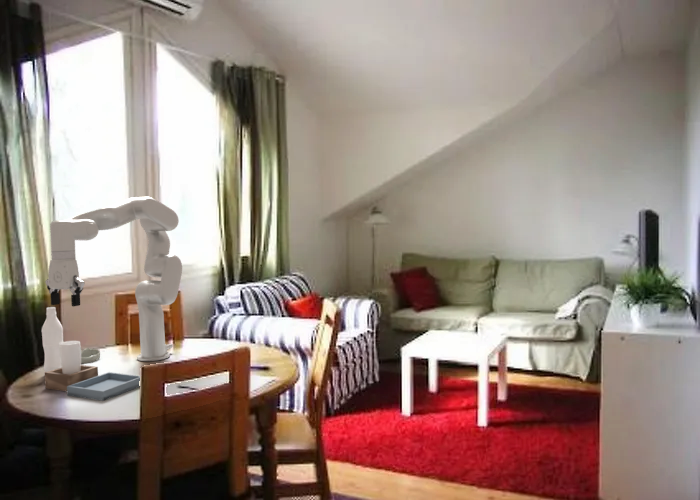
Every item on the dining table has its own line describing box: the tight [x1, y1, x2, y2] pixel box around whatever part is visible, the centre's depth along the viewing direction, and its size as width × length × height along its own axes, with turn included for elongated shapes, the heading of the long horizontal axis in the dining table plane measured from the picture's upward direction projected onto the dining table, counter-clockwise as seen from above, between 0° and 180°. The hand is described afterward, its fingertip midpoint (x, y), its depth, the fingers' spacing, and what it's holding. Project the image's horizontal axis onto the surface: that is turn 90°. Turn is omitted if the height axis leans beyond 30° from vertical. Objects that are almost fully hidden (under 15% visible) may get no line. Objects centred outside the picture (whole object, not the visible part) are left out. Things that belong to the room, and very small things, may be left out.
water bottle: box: [41, 306, 64, 373], centre depth 228 cm, size 7×7×25 cm
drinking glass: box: [59, 340, 82, 374], centre depth 213 cm, size 7×7×15 cm
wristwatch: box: [81, 347, 101, 364], centre depth 248 cm, size 9×6×5 cm
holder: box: [44, 364, 99, 392], centre depth 214 cm, size 12×12×6 cm
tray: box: [66, 371, 141, 401], centre depth 207 cm, size 18×16×3 cm
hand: (65, 305), depth 214 cm, fingers open, 9 cm apart
